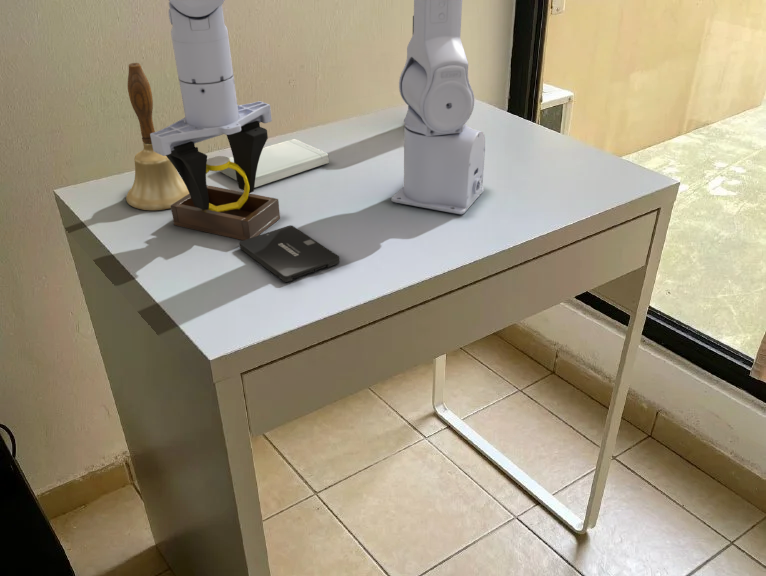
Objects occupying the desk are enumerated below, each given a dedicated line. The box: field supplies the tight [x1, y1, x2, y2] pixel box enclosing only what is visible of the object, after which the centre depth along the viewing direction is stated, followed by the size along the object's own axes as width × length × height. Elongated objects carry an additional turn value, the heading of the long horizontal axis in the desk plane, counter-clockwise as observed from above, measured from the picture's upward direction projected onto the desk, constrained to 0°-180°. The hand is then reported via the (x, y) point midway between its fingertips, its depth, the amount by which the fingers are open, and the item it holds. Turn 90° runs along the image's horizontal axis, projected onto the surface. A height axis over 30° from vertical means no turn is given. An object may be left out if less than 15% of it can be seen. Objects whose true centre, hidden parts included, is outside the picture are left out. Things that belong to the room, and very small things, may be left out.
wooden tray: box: [170, 184, 281, 241], centre depth 91 cm, size 11×7×2 cm, turn 65°
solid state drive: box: [238, 225, 341, 283], centre depth 84 cm, size 7×10×1 cm
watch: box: [206, 155, 250, 212], centre depth 89 cm, size 6×3×6 cm, turn 106°
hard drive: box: [220, 138, 330, 189], centre depth 104 cm, size 2×8×12 cm
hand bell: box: [125, 62, 189, 211], centre depth 92 cm, size 8×8×16 cm
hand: (224, 198), depth 90 cm, fingers closed on watch, 6 cm apart
